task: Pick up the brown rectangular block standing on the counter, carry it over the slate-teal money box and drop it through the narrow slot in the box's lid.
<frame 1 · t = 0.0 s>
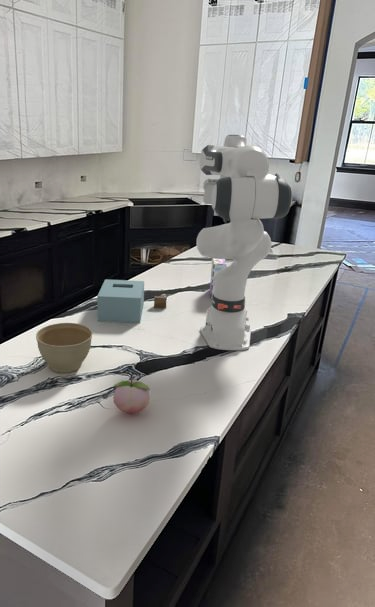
hand: (228, 216, 176), 39 cm above the counter, tool pointing down, fingers open, 8 cm apart
brown rectangular block: (160, 307, 188), on the counter
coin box: (121, 311, 181), on the counter
planter bowl: (65, 366, 138), on the counter
decorative fruit: (131, 412, 118), on the counter
candy box: (216, 294, 207), on the counter
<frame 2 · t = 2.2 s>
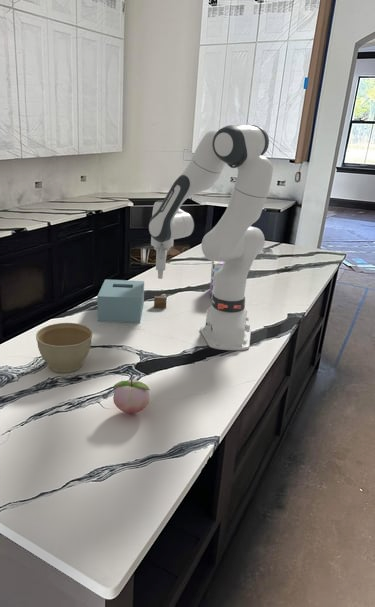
hand: (160, 274, 183), 14 cm above the counter, tool pointing down, fingers open, 8 cm apart
nothing on the counter moved.
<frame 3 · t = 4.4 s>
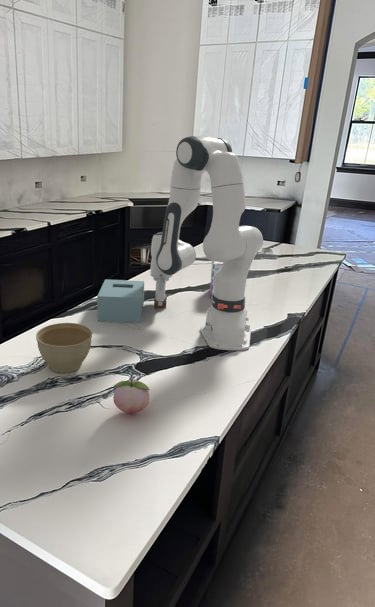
hand: (160, 303, 187), 2 cm above the counter, tool pointing down, fingers closed on brown rectangular block, 2 cm apart
brown rectangular block: (160, 307, 188), on the counter, touching gripper
everything else where it was.
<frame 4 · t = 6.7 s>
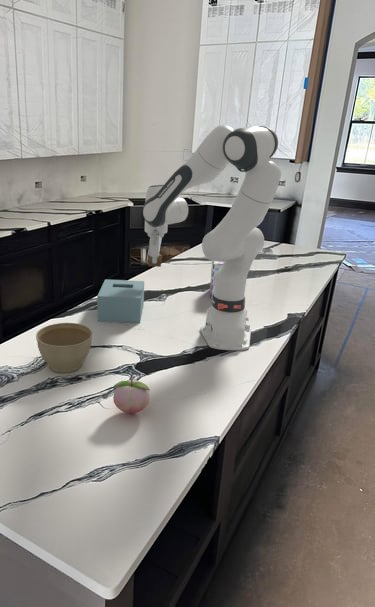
hand: (154, 261, 180), 20 cm above the counter, tool pointing down, fingers closed on brown rectangular block
brown rectangular block: (154, 265, 181), point 18 cm above the counter, touching gripper
everything else where it was.
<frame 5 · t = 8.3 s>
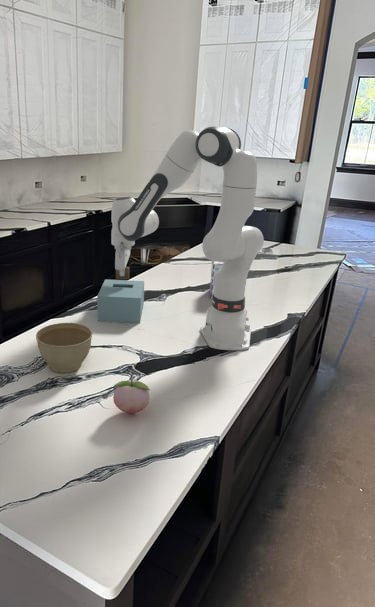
hand: (122, 274, 178), 15 cm above the counter, tool pointing down, fingers closed on brown rectangular block
brown rectangular block: (122, 278, 179), point 13 cm above the counter, touching gripper
everything else where it was.
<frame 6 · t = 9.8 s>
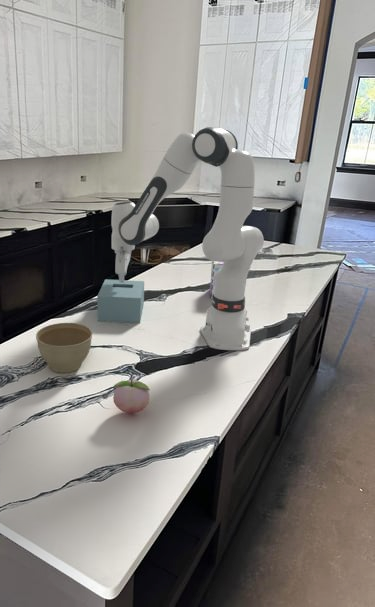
hand: (123, 278, 179), 13 cm above the counter, tool pointing down, fingers open, 8 cm apart
brown rectangular block: (122, 305, 182), point 2 cm above the counter, tilted 90°, touching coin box
everything else where it was.
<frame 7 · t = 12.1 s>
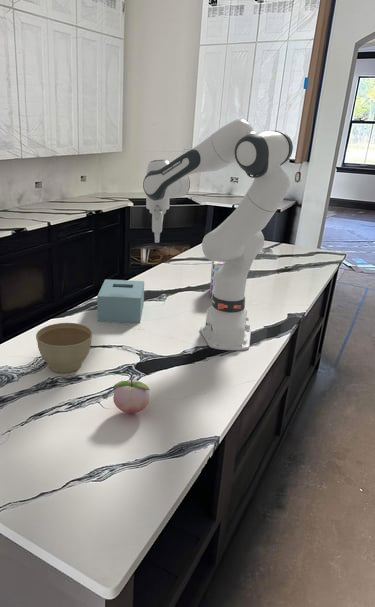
hand: (157, 239, 178), 28 cm above the counter, tool pointing down, fingers open, 8 cm apart
nothing on the counter moved.
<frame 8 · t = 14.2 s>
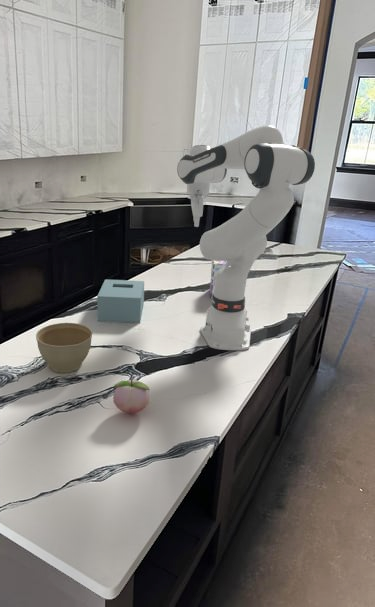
hand: (195, 224, 182), 34 cm above the counter, tool pointing down, fingers open, 8 cm apart
nothing on the counter moved.
at the end: brown rectangular block inside the target area on the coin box (1.9 cm from its centre), point 2.0 cm above the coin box's base; the gripper is holding nothing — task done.
